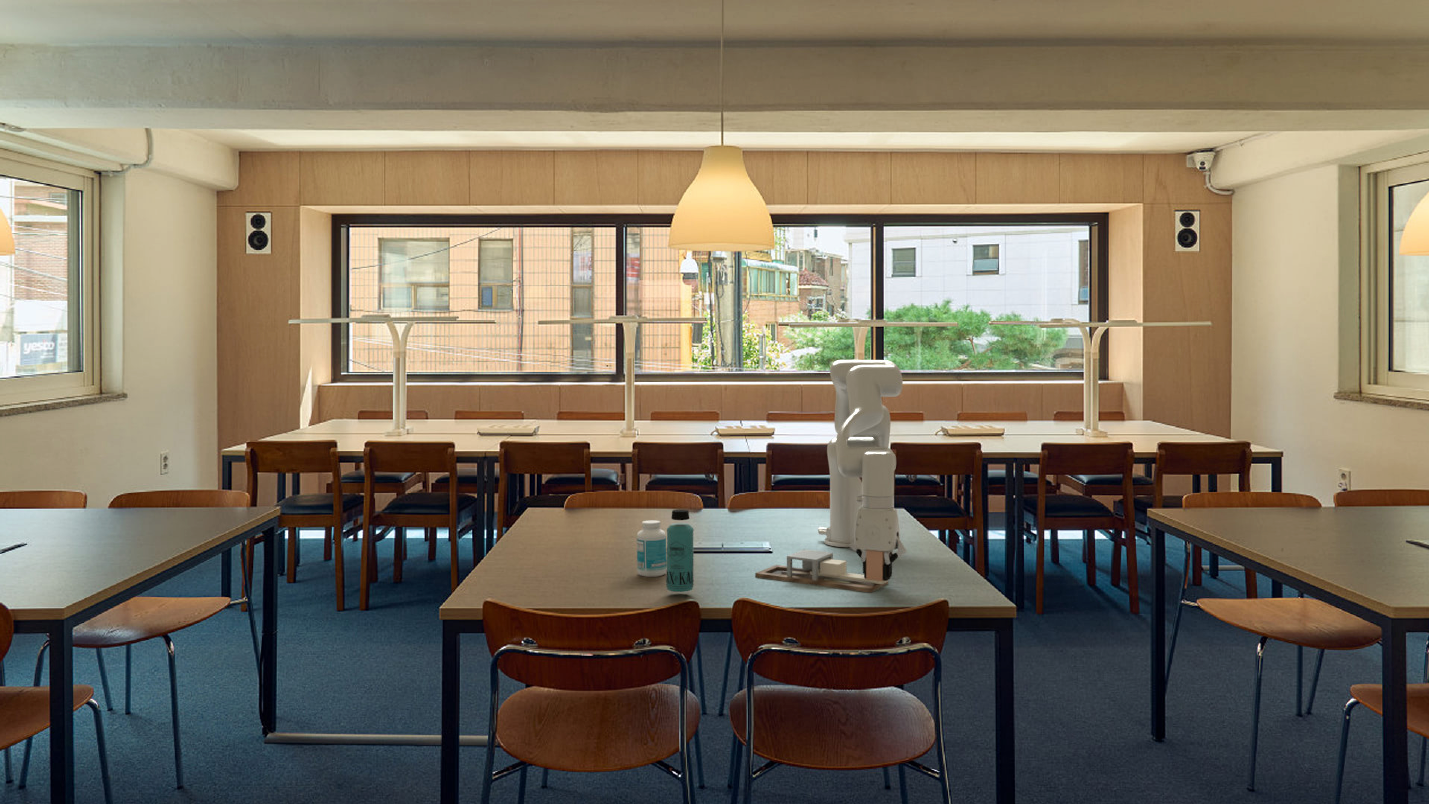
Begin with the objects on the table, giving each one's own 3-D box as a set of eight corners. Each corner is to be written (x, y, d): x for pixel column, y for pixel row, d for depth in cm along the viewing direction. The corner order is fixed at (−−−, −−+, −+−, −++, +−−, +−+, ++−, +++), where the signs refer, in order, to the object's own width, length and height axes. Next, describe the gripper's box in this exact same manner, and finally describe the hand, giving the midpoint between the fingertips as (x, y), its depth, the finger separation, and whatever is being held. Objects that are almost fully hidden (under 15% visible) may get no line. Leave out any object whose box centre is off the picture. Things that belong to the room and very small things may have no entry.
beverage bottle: (665, 592, 231) (665, 507, 230) (693, 591, 231) (693, 507, 230) (666, 598, 224) (666, 512, 223) (695, 598, 225) (695, 511, 224)
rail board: (755, 577, 246) (755, 570, 246) (776, 568, 255) (776, 562, 255) (870, 592, 230) (870, 586, 230) (888, 583, 239) (888, 576, 239)
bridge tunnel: (786, 576, 242) (786, 556, 242) (804, 569, 250) (804, 549, 250) (816, 580, 238) (816, 559, 238) (832, 572, 246) (832, 552, 246)
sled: (808, 575, 242) (809, 543, 241) (817, 571, 246) (817, 540, 245) (881, 584, 232) (881, 551, 231) (888, 580, 236) (889, 547, 235)
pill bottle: (670, 572, 252) (670, 520, 251) (659, 578, 245) (659, 524, 244) (643, 570, 254) (643, 518, 253) (632, 576, 247) (632, 523, 246)
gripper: (839, 501, 235) (838, 577, 236) (905, 507, 226) (904, 586, 227) (851, 497, 241) (851, 571, 242) (917, 503, 233) (916, 579, 233)
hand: (877, 577), depth 235 cm, fingers closed on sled, 4 cm apart
